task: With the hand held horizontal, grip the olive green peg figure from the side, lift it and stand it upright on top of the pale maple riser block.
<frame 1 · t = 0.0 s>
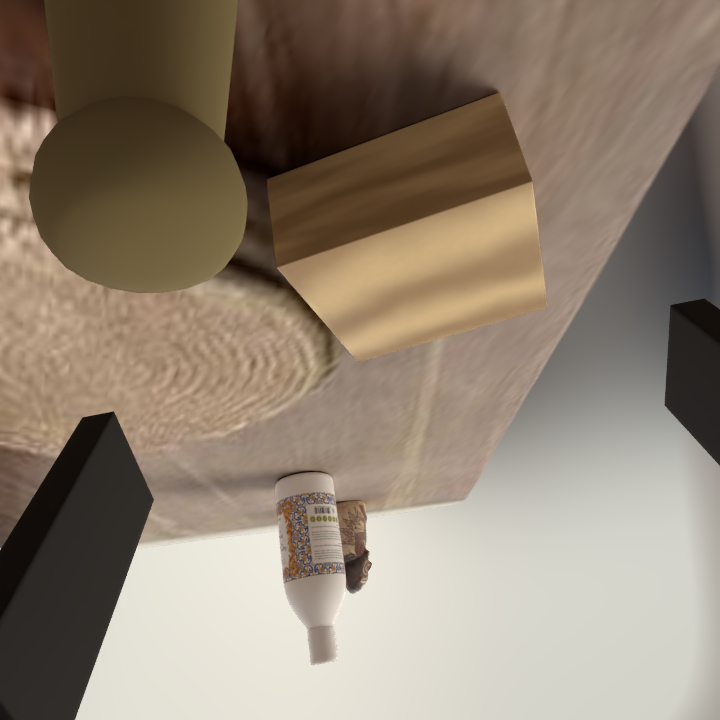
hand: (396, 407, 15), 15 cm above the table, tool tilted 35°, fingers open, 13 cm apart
figurine: (341, 506, 90), on the table
riser block: (408, 209, 32), on the table
bath foam: (303, 478, 74), on the table
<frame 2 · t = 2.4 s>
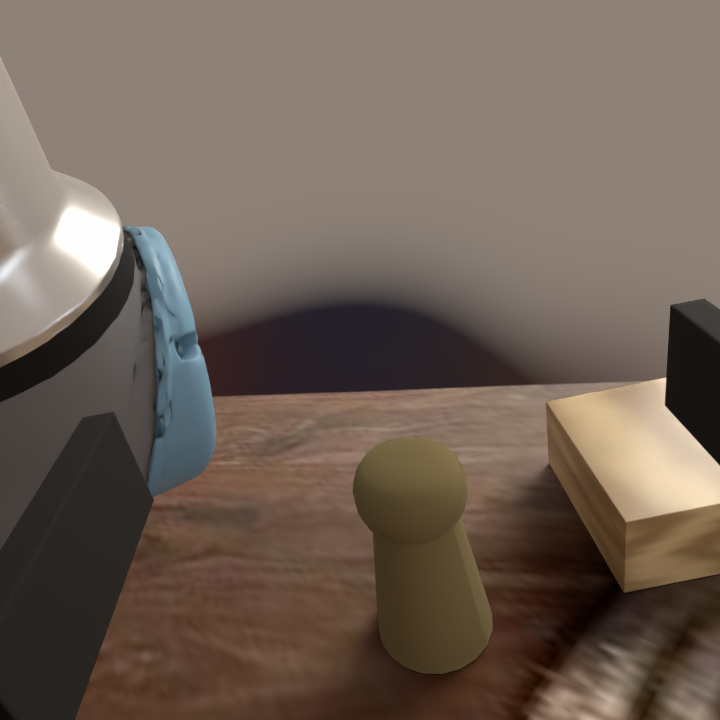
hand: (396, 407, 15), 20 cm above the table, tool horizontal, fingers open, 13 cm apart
riser block: (671, 501, 37), on the table
olive green peg figure: (435, 623, 33), on the table
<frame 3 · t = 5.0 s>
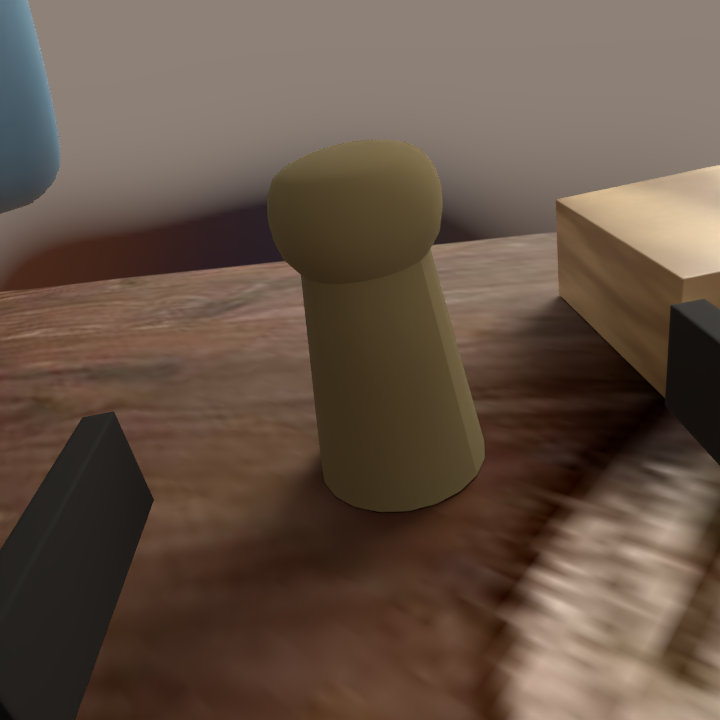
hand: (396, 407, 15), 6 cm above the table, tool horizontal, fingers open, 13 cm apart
olive green peg figure: (403, 458, 23), on the table
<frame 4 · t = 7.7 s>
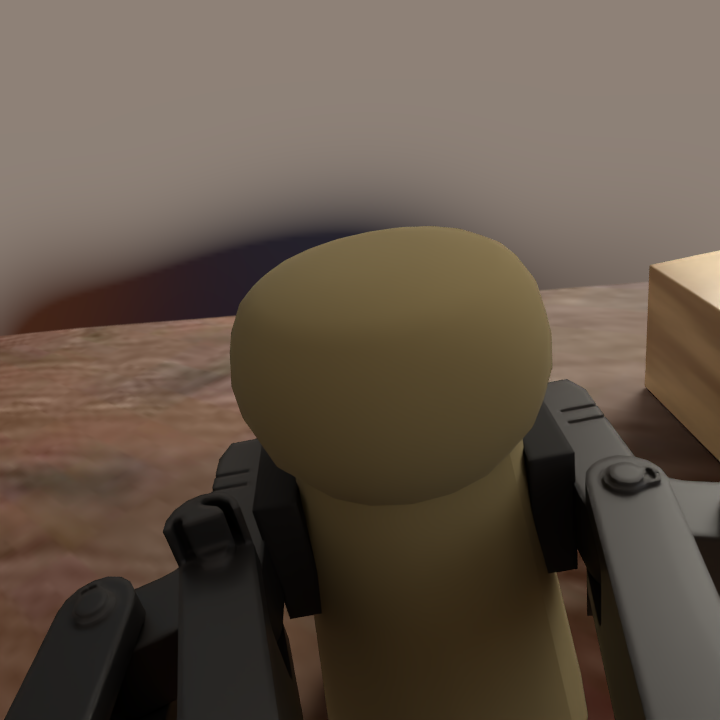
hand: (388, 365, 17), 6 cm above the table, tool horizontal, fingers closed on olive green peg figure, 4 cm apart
olive green peg figure: (452, 695, 15), on the table, touching gripper
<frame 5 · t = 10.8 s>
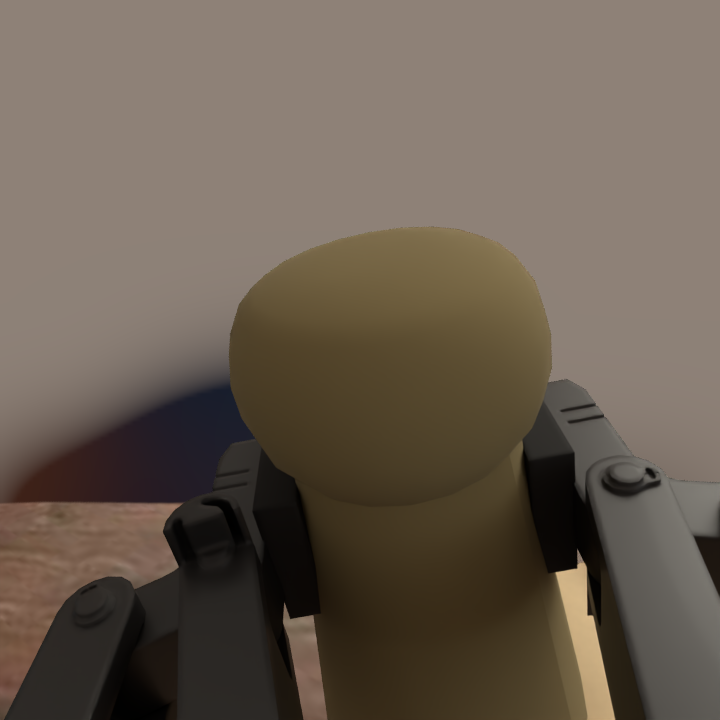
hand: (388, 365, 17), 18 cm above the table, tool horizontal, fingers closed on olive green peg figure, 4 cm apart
olive green peg figure: (452, 696, 15), point 12 cm above the table, touching gripper
when the fingers open (11 cm above the table, at t = 14.2 s): olive green peg figure stays where it is, resting on riser block.
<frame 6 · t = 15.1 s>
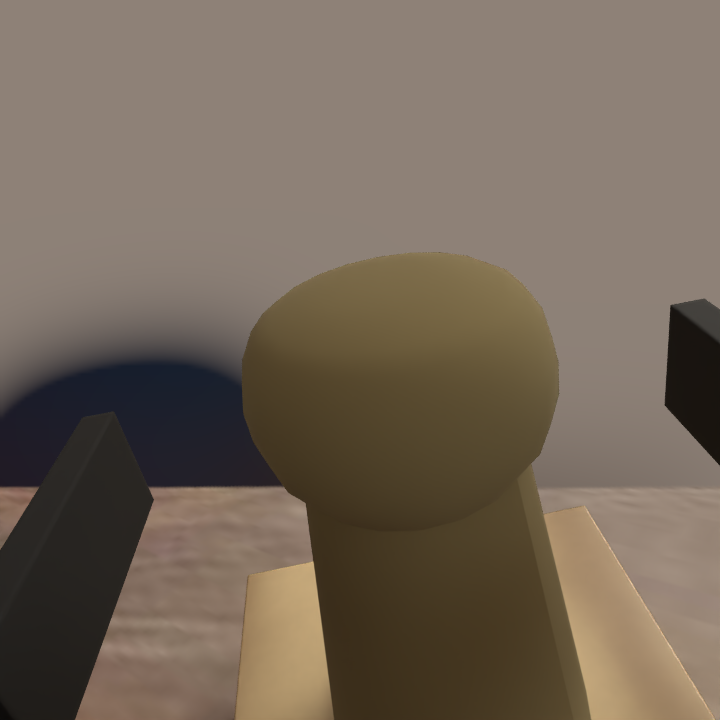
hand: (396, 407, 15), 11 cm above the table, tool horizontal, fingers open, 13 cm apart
olive green peg figure: (459, 710, 15), point 5 cm above the table, touching riser block
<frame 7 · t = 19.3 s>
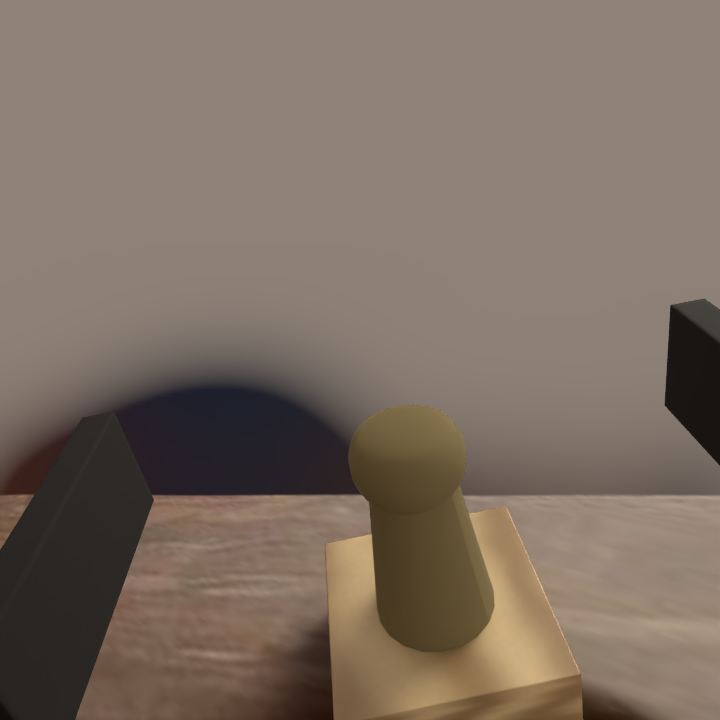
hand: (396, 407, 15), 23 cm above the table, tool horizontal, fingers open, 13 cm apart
riser block: (445, 660, 34), on the table
olive green peg figure: (435, 602, 32), point 5 cm above the table, touching riser block
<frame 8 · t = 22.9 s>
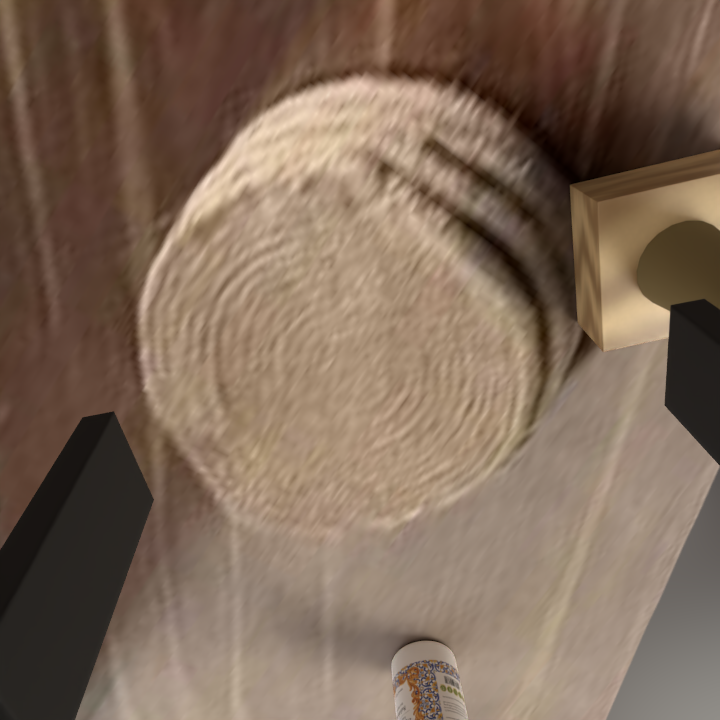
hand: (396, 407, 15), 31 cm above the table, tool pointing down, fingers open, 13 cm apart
riser block: (647, 240, 45), on the table
olive green peg figure: (680, 263, 41), point 5 cm above the table, touching riser block
bath foam: (422, 657, 67), on the table
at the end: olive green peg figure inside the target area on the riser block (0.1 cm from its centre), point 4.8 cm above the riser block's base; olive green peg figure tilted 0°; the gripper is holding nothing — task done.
